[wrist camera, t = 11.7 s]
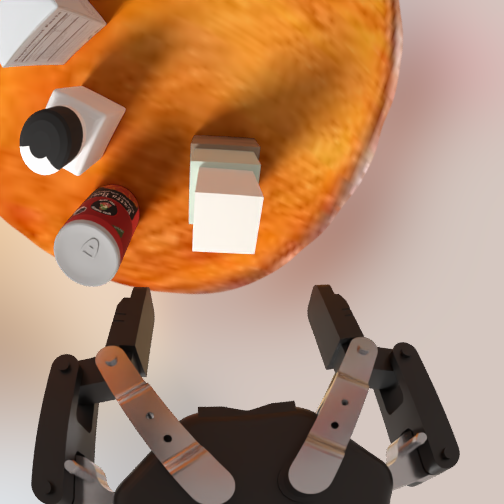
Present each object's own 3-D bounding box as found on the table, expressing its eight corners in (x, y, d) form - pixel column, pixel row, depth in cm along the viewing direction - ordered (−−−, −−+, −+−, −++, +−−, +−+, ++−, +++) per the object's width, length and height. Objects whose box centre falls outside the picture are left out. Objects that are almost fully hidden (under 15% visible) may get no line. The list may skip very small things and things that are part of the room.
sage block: (194, 148, 27) (190, 161, 23) (253, 151, 28) (260, 165, 24) (192, 202, 31) (188, 223, 26) (247, 204, 32) (252, 226, 27)
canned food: (149, 194, 34) (127, 239, 25) (131, 244, 38) (110, 297, 29) (96, 173, 32) (57, 211, 22) (83, 225, 35) (50, 272, 26)
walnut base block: (194, 135, 31) (190, 143, 27) (254, 138, 32) (260, 147, 28) (191, 190, 35) (189, 206, 31) (248, 192, 36) (252, 208, 32)
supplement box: (39, 33, 19) (-23, 28, 9) (82, -8, 18) (30, -34, 7) (63, 66, 23) (1, 70, 13) (109, 25, 22) (58, 4, 11)
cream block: (199, 166, 24) (195, 192, 19) (252, 170, 24) (263, 197, 19) (196, 215, 26) (192, 251, 21) (246, 218, 27) (254, 254, 22)
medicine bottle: (81, 84, 25) (26, 92, 15) (127, 108, 28) (86, 123, 18) (58, 135, 28) (3, 164, 18) (101, 159, 31) (57, 196, 21)
